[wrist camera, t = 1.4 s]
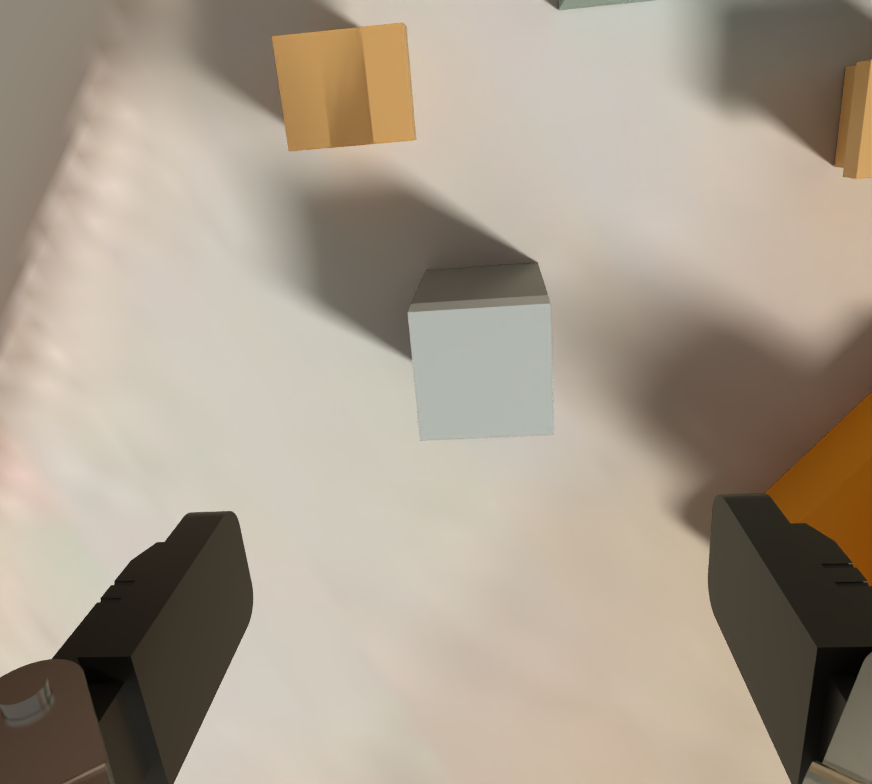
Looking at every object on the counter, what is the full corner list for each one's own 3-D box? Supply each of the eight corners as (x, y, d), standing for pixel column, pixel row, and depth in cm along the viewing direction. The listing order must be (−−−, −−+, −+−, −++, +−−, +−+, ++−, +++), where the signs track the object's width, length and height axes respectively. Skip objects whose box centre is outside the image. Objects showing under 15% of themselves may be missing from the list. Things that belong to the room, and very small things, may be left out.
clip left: (320, 146, 24) (288, 151, 20) (307, 50, 23) (271, 36, 19) (425, 137, 24) (413, 140, 20) (417, 38, 23) (402, 22, 19)
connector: (537, 262, 25) (550, 303, 19) (540, 368, 26) (553, 435, 21) (426, 270, 25) (407, 312, 20) (435, 373, 27) (420, 440, 21)
